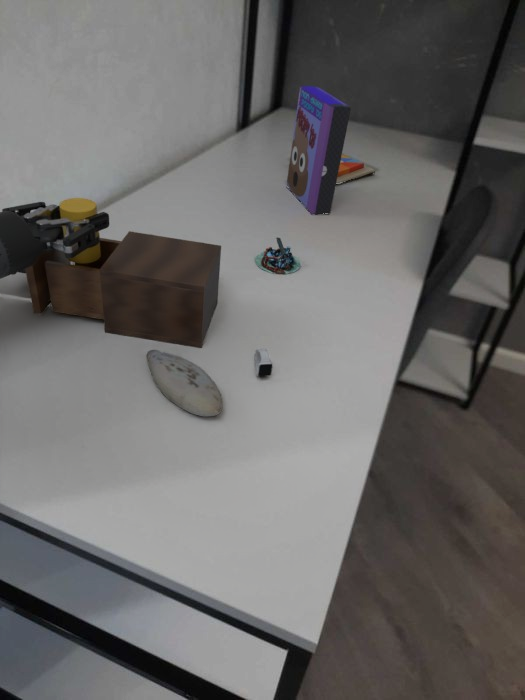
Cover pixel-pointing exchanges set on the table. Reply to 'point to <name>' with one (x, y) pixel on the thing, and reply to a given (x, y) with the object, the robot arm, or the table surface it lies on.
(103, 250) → the drawer
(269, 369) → the smartwatch
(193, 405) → the decorative stone
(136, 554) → the table surface
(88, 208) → the tape canister
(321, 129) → the cereal box
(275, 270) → the dish
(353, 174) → the wooden puzzle
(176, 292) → the cabinet
